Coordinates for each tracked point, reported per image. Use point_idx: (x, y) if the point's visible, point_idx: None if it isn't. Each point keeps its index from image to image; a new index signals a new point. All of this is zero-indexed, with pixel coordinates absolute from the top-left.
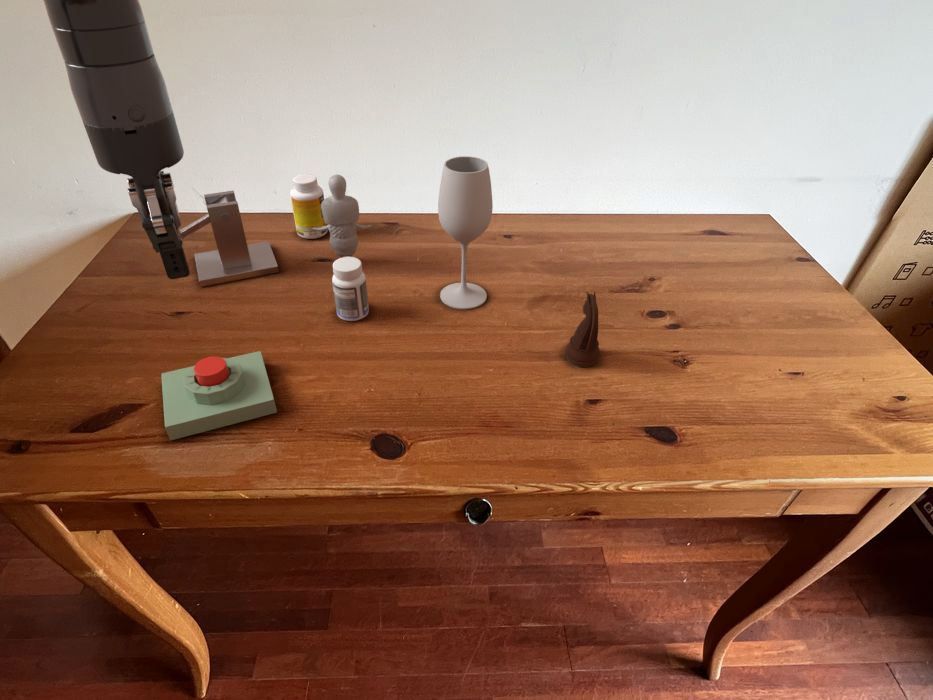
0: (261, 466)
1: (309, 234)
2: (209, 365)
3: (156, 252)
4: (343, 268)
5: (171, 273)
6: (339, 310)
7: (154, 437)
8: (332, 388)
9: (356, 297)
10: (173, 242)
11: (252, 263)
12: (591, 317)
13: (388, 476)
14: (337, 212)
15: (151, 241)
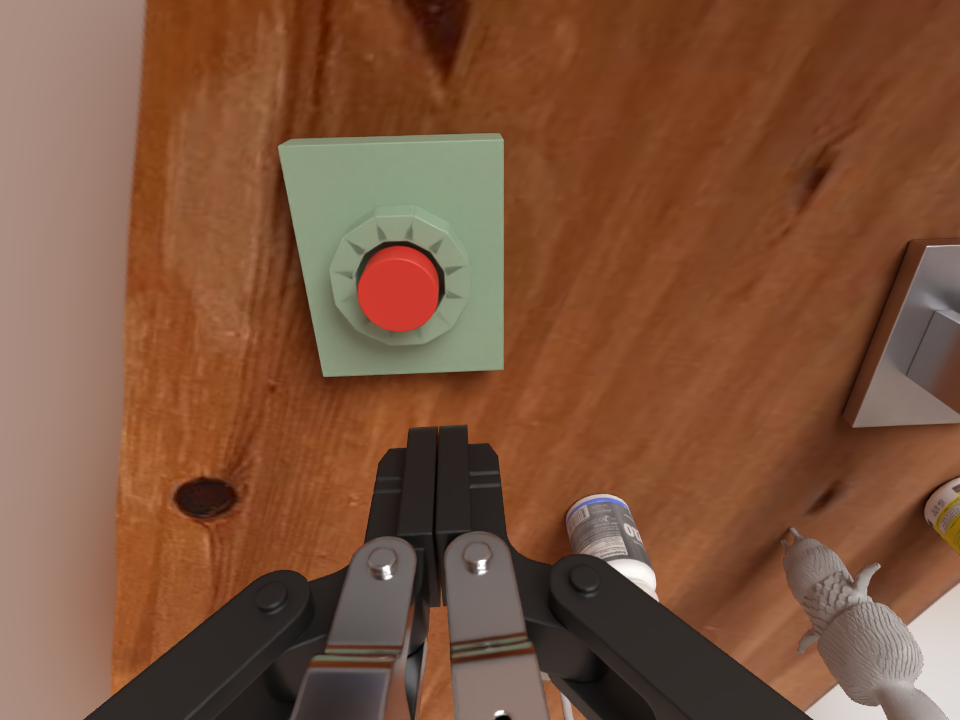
0: (181, 314)
1: (942, 501)
2: (399, 295)
3: (258, 579)
4: None
5: (379, 466)
6: (590, 511)
7: (311, 99)
8: (376, 451)
9: None
10: (261, 684)
11: (909, 378)
12: None
13: (136, 487)
14: (852, 654)
15: (97, 710)
